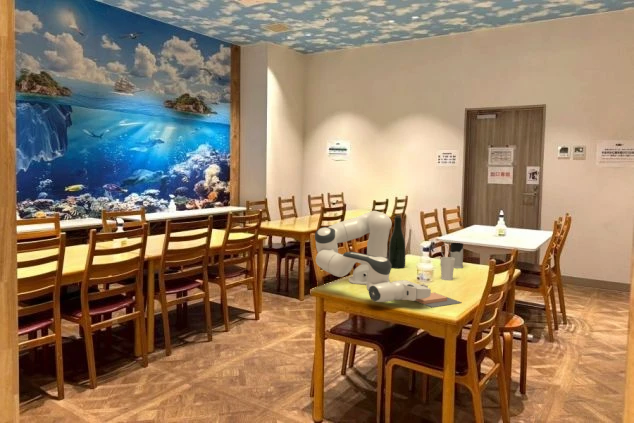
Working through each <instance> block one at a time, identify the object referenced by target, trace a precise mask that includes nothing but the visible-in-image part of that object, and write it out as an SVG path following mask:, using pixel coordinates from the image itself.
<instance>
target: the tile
mask: <svg viewBox="0 0 634 423" xmlns="http://www.w3.org/2000/svg"><path fill="white" fill-rule="evenodd" d="M416 301H417V302H416ZM442 301H447V296H445V295H443V296H442V294H440V295H439V293H437V294H436V292H431V295H430V296H429V297H426V298H422V299H416V300H415V301H414V302H416V303H419V302H420V303H419V304H421V303H422V305H424V304H428V303H435V302H442Z"/></svg>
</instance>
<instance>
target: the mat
mask: <svg viewBox="0 0 634 423" xmlns="http://www.w3.org/2000/svg"><path fill="white" fill-rule="evenodd" d="M435 293H436V292H435ZM436 294H439V293H436ZM439 295H442V294H439ZM442 296H444V295H442ZM446 297H447V296H446ZM415 302H416V303H419V304H422V303H420V302H417V301H415ZM458 304H462V301H458V300H456V299H453V298H451V297H447V301H442V302H435V303H428V304H422V305H424V306H426V307H429V308H432V307H433V308H438V307H446V306H451V305H458Z"/></svg>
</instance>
